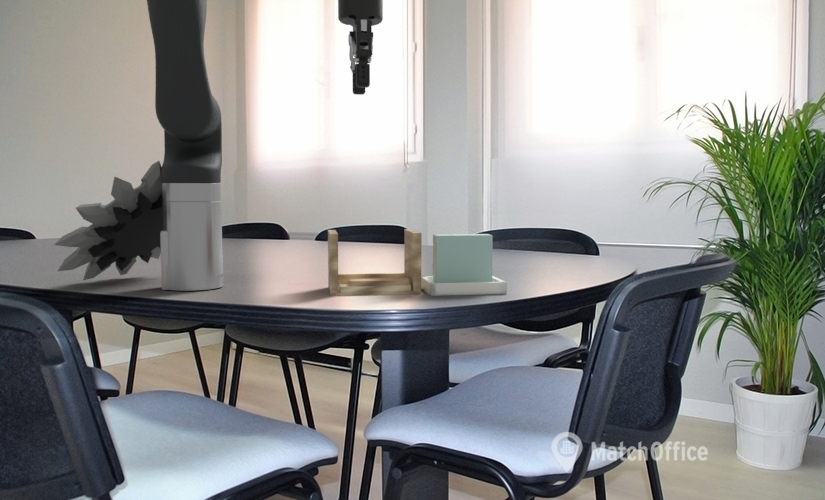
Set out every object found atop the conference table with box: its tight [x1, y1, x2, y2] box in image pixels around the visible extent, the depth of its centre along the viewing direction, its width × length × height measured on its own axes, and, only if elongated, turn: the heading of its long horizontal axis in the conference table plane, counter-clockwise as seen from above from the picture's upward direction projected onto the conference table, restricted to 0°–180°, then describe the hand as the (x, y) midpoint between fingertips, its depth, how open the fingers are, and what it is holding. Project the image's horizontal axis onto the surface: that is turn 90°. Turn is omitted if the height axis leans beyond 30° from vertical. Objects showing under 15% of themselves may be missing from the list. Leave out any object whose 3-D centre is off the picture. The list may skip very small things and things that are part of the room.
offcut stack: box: [339, 278, 411, 292], centre depth 105 cm, size 11×3×2 cm, turn 99°
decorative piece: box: [53, 160, 163, 281], centre depth 117 cm, size 30×4×30 cm
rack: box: [327, 228, 422, 297], centre depth 108 cm, size 14×10×10 cm
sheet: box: [432, 233, 494, 283], centre depth 107 cm, size 9×3×8 cm, turn 99°
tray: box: [421, 275, 508, 297], centre depth 107 cm, size 12×9×2 cm
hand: (360, 90), depth 115 cm, fingers open, 8 cm apart
